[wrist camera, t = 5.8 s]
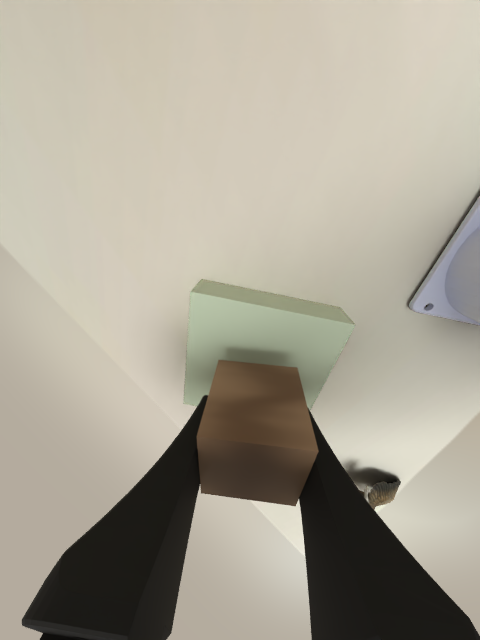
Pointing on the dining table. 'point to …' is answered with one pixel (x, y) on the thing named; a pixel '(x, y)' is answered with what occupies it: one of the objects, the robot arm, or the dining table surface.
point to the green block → (260, 335)
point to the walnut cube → (256, 434)
